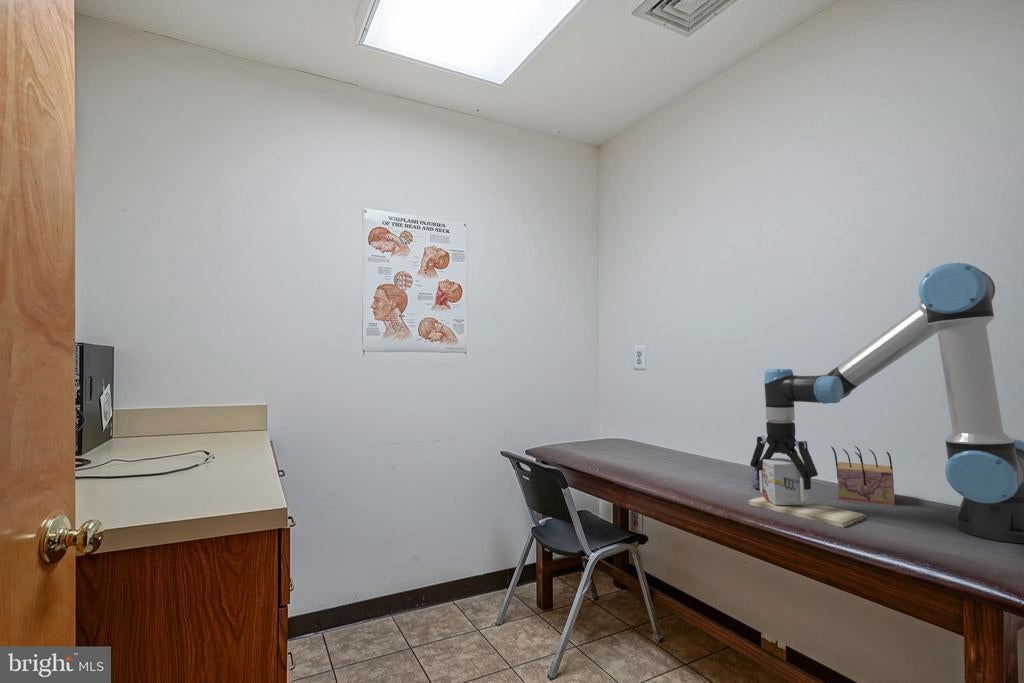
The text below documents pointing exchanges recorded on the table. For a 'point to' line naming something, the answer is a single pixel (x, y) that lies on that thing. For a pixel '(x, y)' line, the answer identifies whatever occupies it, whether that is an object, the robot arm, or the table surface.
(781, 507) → the board
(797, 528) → the table surface
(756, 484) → the rock
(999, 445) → the robot arm
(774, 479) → the ink box
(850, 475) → the anatomical model
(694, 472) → the table surface
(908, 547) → the table surface
